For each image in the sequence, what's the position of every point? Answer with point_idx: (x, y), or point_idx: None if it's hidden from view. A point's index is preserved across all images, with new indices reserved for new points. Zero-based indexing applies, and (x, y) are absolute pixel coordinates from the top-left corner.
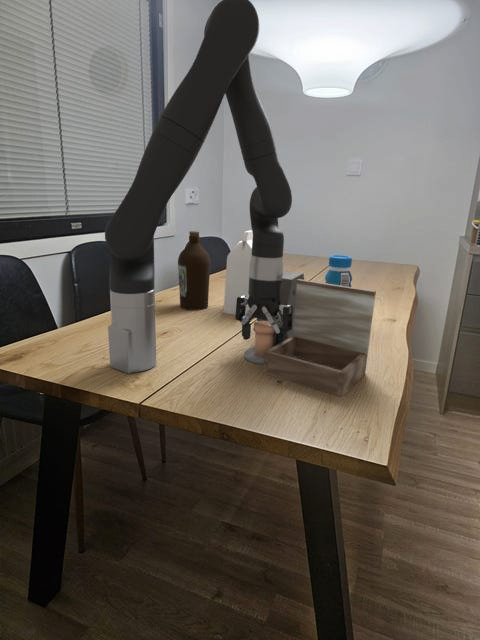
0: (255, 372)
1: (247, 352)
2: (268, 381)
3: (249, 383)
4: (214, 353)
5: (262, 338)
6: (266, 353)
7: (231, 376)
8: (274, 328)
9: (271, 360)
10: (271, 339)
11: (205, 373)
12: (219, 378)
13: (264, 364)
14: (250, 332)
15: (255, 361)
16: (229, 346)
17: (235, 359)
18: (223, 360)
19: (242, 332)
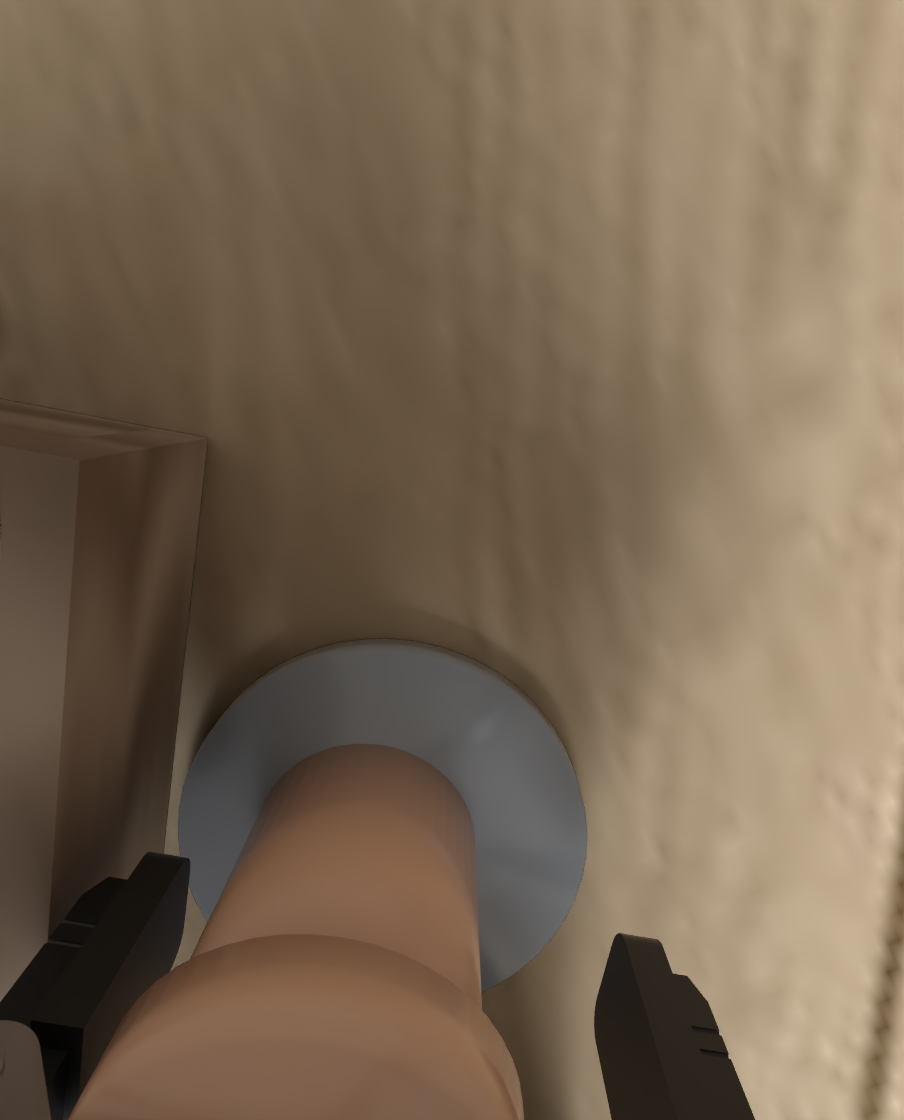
0: (289, 415)
1: (548, 803)
2: (67, 257)
3: (221, 95)
4: (894, 683)
5: (308, 897)
6: (52, 449)
7: (478, 177)
8: (34, 1110)
9: (13, 429)
10: (198, 948)
11: (785, 102)
12: (580, 49)
13: (158, 444)
14: (606, 1091)
15: (387, 647)
16: (809, 922)
17: (620, 637)
18: (731, 552)
19: (707, 1029)
